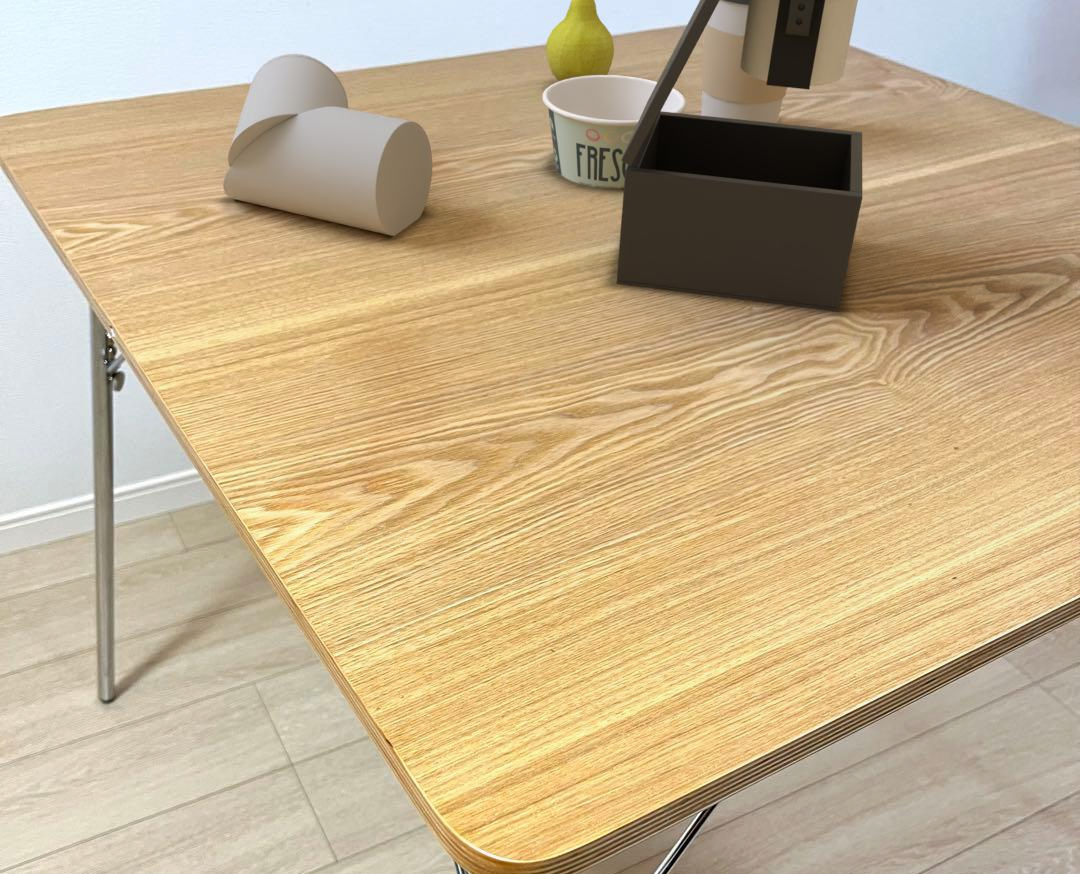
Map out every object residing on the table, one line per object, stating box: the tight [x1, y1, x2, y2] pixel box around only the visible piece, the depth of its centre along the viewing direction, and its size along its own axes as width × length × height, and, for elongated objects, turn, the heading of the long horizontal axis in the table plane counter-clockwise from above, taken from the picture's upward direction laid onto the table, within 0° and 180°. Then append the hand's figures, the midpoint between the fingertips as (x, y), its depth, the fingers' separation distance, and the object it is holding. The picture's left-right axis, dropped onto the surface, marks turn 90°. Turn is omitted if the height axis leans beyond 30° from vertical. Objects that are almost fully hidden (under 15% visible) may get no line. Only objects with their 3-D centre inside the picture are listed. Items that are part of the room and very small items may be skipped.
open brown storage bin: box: [615, 111, 863, 313], centre depth 82 cm, size 16×13×9 cm
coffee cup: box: [700, 0, 788, 123], centre depth 103 cm, size 9×9×15 cm
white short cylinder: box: [741, 0, 859, 87], centre depth 74 cm, size 8×8×6 cm
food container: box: [541, 74, 687, 190], centre depth 97 cm, size 12×12×6 cm
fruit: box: [545, 0, 615, 82], centre depth 113 cm, size 7×7×12 cm
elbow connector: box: [222, 53, 433, 237], centre depth 91 cm, size 18×10×20 cm
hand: (791, 65), depth 76 cm, fingers closed on white short cylinder, 8 cm apart
